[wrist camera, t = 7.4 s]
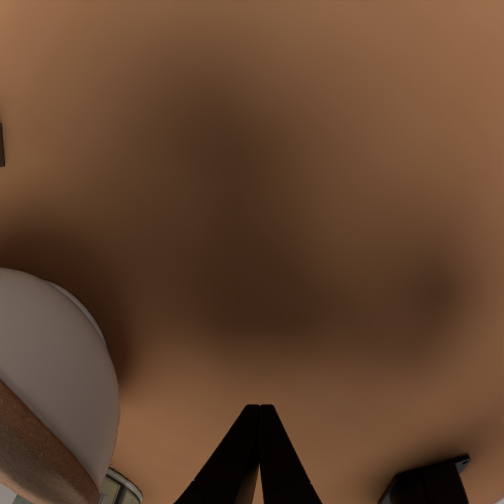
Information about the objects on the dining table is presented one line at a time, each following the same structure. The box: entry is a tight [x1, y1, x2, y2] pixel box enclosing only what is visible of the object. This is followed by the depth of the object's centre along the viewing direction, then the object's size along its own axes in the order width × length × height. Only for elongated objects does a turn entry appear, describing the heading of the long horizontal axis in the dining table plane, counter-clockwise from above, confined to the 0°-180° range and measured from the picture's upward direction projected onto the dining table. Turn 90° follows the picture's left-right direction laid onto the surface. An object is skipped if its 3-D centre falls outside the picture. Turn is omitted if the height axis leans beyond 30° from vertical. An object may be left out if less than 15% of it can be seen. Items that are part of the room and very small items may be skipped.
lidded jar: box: [0, 267, 120, 504], centre depth 9 cm, size 11×11×9 cm
